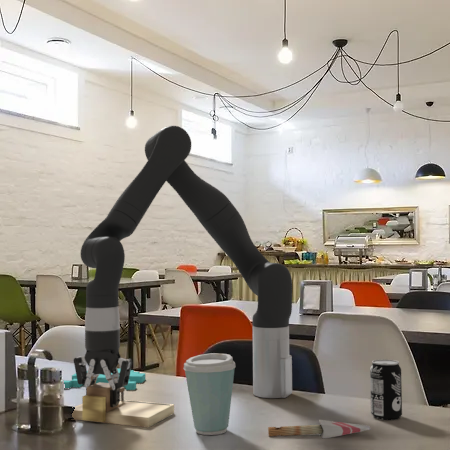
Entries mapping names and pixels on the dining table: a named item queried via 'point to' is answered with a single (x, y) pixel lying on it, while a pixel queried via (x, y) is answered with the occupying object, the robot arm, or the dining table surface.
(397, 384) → the beverage can
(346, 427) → the paintbrush
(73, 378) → the alien figure
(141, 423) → the board
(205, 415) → the disposable coffee cup
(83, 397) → the brown block with handle
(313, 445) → the dining table surface
